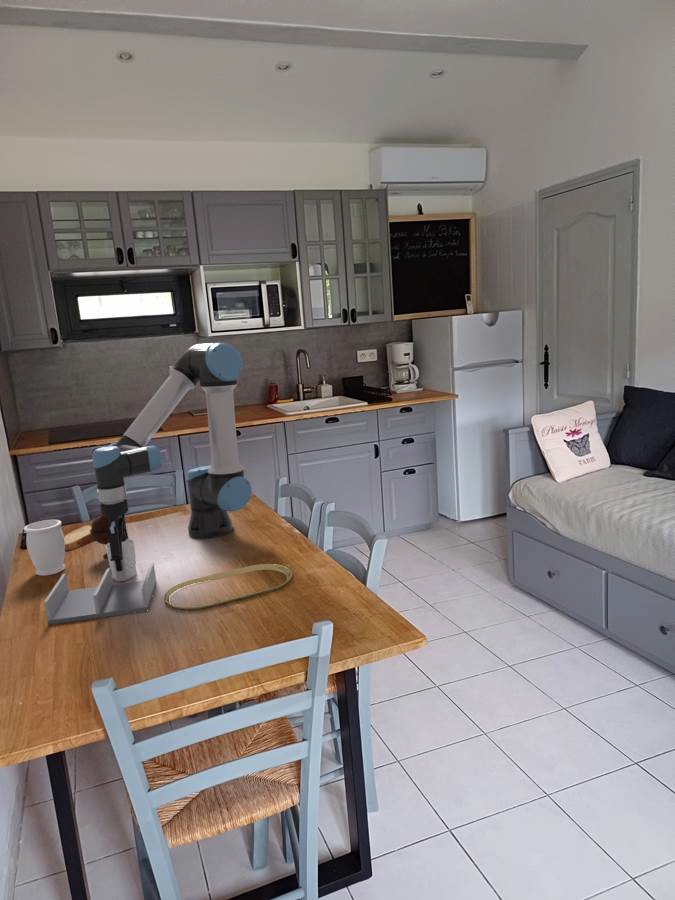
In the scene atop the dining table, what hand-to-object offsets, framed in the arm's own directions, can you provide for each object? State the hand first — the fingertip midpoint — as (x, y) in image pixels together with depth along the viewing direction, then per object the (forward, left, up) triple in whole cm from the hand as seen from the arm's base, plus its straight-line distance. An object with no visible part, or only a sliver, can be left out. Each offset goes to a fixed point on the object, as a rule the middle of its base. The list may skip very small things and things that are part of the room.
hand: (124, 574), depth 186 cm
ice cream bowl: (+7, -19, 0) cm, 20 cm away
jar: (+24, -12, -1) cm, 27 cm away
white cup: (0, 0, -1) cm, 1 cm away
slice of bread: (+20, -40, -1) cm, 45 cm away
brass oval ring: (-31, +19, -1) cm, 36 cm away
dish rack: (+2, +18, 0) cm, 18 cm away
